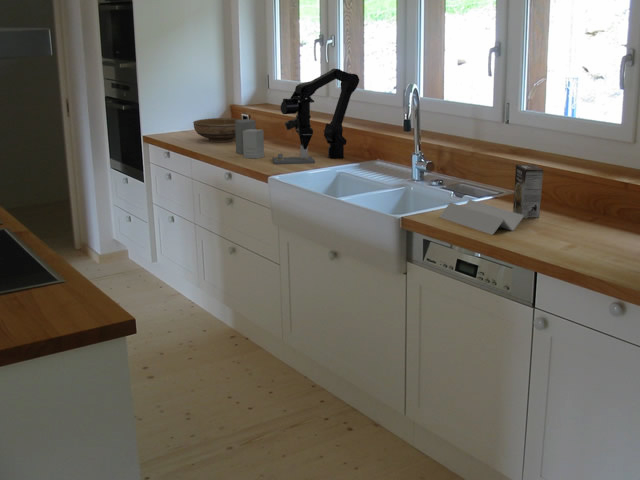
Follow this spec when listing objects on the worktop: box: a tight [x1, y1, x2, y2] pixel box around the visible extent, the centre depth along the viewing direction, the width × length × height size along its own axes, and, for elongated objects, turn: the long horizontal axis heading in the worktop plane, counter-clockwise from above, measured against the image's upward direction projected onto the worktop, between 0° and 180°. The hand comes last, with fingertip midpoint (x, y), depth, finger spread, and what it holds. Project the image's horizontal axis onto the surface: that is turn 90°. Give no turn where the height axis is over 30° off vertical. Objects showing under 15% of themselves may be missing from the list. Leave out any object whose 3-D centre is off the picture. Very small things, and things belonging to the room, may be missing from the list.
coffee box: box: [512, 163, 544, 219], centre depth 259 cm, size 9×6×16 cm
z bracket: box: [439, 199, 524, 235], centre depth 250 cm, size 12×25×6 cm
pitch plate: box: [271, 153, 316, 165], centre depth 356 cm, size 18×12×4 cm, turn 98°
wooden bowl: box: [192, 117, 245, 143], centre depth 414 cm, size 37×29×10 cm
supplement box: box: [243, 128, 265, 159], centre depth 365 cm, size 7×7×13 cm
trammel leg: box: [299, 143, 309, 159], centre depth 355 cm, size 3×3×6 cm
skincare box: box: [235, 118, 257, 155], centre depth 376 cm, size 8×7×16 cm
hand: (303, 147), depth 355 cm, fingers open, 9 cm apart
